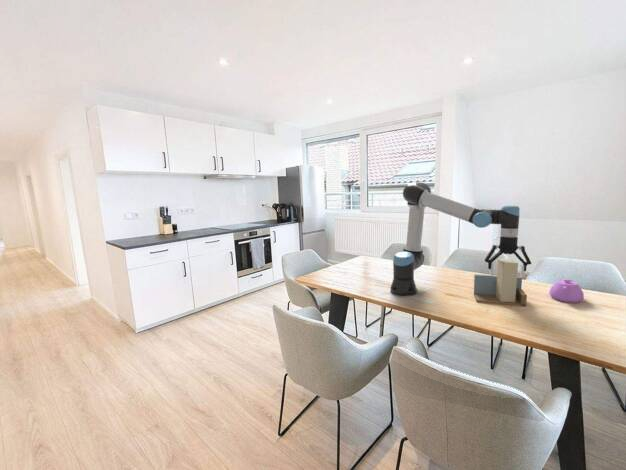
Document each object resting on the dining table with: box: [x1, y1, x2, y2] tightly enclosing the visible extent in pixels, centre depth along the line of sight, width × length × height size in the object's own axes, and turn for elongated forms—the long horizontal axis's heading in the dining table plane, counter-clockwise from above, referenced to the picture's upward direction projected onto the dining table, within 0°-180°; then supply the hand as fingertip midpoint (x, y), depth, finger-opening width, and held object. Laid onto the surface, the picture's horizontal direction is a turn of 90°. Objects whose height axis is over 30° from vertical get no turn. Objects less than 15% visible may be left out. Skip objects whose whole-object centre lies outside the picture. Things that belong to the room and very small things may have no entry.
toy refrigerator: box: [496, 258, 519, 302], centre depth 153 cm, size 8×7×21 cm
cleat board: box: [473, 273, 528, 308], centre depth 156 cm, size 22×12×12 cm, turn 68°
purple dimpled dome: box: [548, 278, 585, 304], centre depth 154 cm, size 14×20×11 cm
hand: (506, 276), depth 153 cm, fingers open, 13 cm apart
